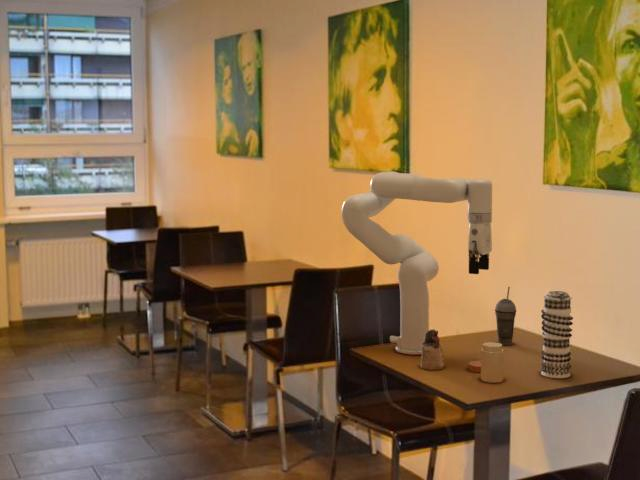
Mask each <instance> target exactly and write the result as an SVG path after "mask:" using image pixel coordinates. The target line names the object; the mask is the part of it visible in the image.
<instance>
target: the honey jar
mask: <svg viewBox="0 0 640 480" xmlns="http://www.w3.org/2000/svg"><path fill="white" fill-rule="evenodd" d="M480 361H481V373H480V380H481V382H484V383H492V384H494V383H495V384H497V383H501V382H504V371H505V370H504V368H505V367H504V364H505V363H504V362H505V350H504V349H503V345H502V344H500V343H498V342H494V341H488V342H483V343H482V348H481V349H480Z"/></svg>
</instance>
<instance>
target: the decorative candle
mask: <svg viewBox="0 0 640 480" xmlns="http://www.w3.org/2000/svg"><path fill="white" fill-rule="evenodd" d="M543 298H544V303H543V304H544V306H543V309H542V310H541V315H540V317H541V319H542V321H541V331H542V333H541V336H542V338H543V344H542V350H541V354H542V355H541V356H540V357H541V362H540V364H541V367H540V369H541V373H540V374H541V376H544V377H546V378H551V379H567V378H569V377H571V371H572V369H571V367H572V364H571V362H570V361H571V360H572V358H571V357H570V356H571V355H572V352H571V346H570V342H571V341H570V339H571V338H572V337H573V334H572V333H571V332H573V329H572V328H571V327H570V326H572V325H574V323H573V322H572V320H573V319H574V317H573V316H572V315H571V313H572V307H571V303H572V302H571V300H572V299H573V297H572V296H570V294H569V293H568V292H566V291H563V290H552V291H548V292H547V293H546V295H544V296H543Z"/></svg>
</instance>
